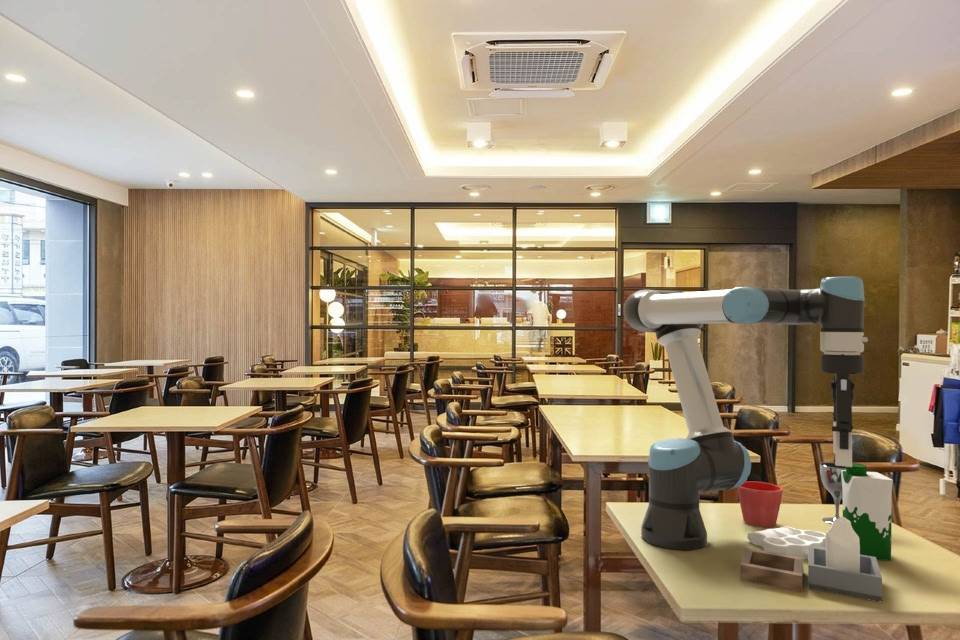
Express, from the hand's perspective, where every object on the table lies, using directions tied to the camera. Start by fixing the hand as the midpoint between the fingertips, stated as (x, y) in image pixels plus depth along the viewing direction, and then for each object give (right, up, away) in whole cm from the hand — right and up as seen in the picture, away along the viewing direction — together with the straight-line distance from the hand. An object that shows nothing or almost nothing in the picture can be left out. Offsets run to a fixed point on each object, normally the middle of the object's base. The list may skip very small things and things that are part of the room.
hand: (842, 459), depth 119 cm
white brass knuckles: (0, -26, +19) cm, 32 cm away
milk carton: (+15, -25, +16) cm, 34 cm away
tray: (0, -25, -1) cm, 25 cm away
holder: (-13, -25, +3) cm, 28 cm away
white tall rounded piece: (0, -24, 0) cm, 24 cm away
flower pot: (+1, -26, +38) cm, 46 cm away
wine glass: (+23, -26, +39) cm, 52 cm away
